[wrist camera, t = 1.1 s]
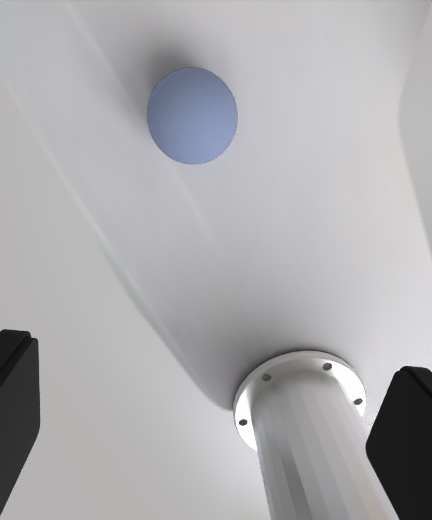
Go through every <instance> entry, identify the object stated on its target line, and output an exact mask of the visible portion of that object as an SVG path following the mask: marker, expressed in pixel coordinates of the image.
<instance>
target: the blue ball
mask: <svg viewBox="0 0 432 520" xmlns="http://www.w3.org/2000/svg"><path fill="white" fill-rule="evenodd" d="M237 117H238V116H237V107H236V103H235V100H234V97H233V95H232V93H231V91H230V89H229V88H228V86H227V85H226V84H225V83H224V82H223V81H222V80H221V79H220V78H219V77H218V76H216V75H215V74H213V73H211V72H209V71H207V70H204V69H200V68H191V67H190V68H182V69H178V70H176V71H173V72H171V73H170V74H168V75H166V76H165V77H164V78H163V79H162V80H161V81H160V82H159V83H158V84H157V86H156V87H155V88H154V90H153V92H152V94H151V97H150V99H149V103H148V108H147V121H148V127H149V130H150V133H151V136H152V138H153V140H154V142H155V143H156V145H157V146H158V147H159V149H160V150H161V151H162V152H163V153H165V154H166V155H167V156H168V157H170V158H172V159H173V160H176V161H178V162H181V163H184V164H202V163H206V162H209V161H211V160H213V159H215V158H217V157H218V156H219V155H221V154H222V153H223V152H224V151H225V150H226V148H227V147H228V146H229V144H230V143H231V141H232V139H233V137H234V134H235V131H236V127H237Z"/></svg>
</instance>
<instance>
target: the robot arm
mask: <svg viewBox="0 0 432 520" xmlns="http://www.w3.org/2000/svg"><path fill="white" fill-rule="evenodd" d="M365 405H366V393H365V389H364V386H363V383H362V382H361V380H360V378H359V377H358V375H357V373H356V372H355V371H354V370H353V369H352V367H351V366H350V365H349V364H347V363H346V362H345V361H343V360H342V359H340V358H338V357H336V356H333V355H331V354H328V353H323V352H319V351H297V352H291V353H287V354H283V355H280V356H277V357H275V358H273V359H270V360H268V361H266V362H265V363H263V364H262V365H260V366H258V367H257V368H256V369H255V370H253V371H252V372H251V373H250V374H249V375H248V376H247V377H246V379H245V380H244V381H243V382H242V384H241V385H240V387H239V389H238V391H237V393H236V396H235V400H234V404H233V415H234V422H235V426H236V429H237V431H238V433H239V435H240V437H241V438H242V439H243V441H244V442H245V443H246V444H248V445H249V446H250V447H251V448H252V449H254V450H256V451H257V453H258V457H259V463H260V468H261V473H262V477H263V482H264V487H265V492H266V497H267V502H268V507H269V512H270V517H271V520H432V372H431V371H430V370H429V369H427V368H423V367H412V366H404V367H402V368H401V369H400V371H397V372H396V373H395V374H394V376H393V378H392V381H391V383H390V386H389V388H388V390H387V393H386V395H385V398H384V400H383V403H382V405H381V407H380V410H379V412H378V415H377V417H376V419H375V422H374V424H373V427H372V429H371V431H370V430H369V429H368V427H367V425H366V423H365V421H364V420H363V418H362V416H363V414H364V411H365ZM39 428H40V392H39V354H38V340H37V339H36V338H31V335H30V332H28V331H18V330H7V329H4V330H2V331H0V515H1V513H2V511H3V509H4V506H5V504H6V502H7V500H8V498H9V496H10V494H11V491H12V489H13V487H14V485H15V483H16V481H17V479H18V477H19V474H20V472H21V470H22V468H23V466H24V464H25V461H26V460H27V457H28V455H29V453H30V451H31V449H32V447H33V445H34V442H35V440H36V438H37V435H38V432H39Z"/></svg>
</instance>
